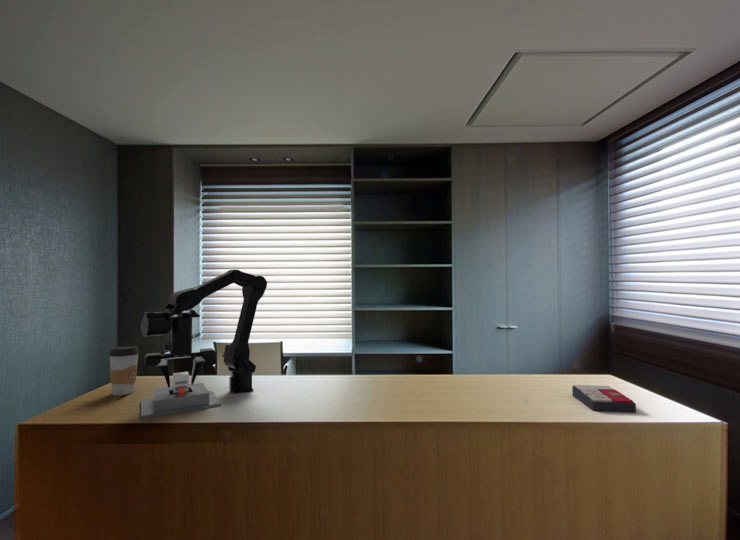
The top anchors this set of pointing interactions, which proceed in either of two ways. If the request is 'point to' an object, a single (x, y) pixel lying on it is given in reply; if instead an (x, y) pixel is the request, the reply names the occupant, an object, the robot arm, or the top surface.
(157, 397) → the stand base
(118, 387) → the coffee cup
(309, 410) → the top surface
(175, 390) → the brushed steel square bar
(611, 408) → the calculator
